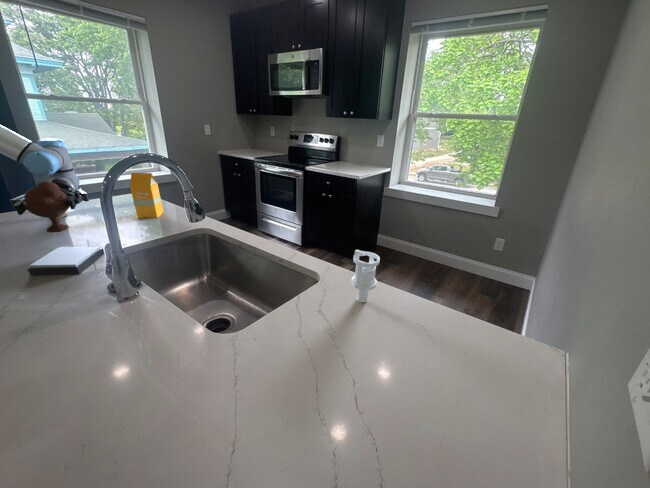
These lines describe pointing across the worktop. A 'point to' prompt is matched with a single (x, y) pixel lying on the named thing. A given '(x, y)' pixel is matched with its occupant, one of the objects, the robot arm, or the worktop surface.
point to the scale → (66, 261)
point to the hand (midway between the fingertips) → (45, 207)
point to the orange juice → (146, 195)
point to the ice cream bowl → (47, 204)
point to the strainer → (364, 274)
